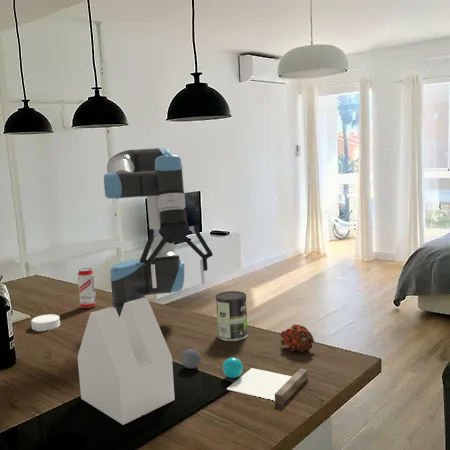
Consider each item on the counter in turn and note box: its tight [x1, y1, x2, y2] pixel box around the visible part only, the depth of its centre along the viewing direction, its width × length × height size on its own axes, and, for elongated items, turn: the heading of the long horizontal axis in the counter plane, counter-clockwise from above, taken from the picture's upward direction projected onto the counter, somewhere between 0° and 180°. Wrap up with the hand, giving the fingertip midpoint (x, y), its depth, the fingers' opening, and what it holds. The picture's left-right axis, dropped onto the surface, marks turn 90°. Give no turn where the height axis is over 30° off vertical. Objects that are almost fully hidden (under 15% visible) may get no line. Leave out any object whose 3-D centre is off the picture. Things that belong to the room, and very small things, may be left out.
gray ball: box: [180, 348, 202, 370], centre depth 146 cm, size 6×6×6 cm
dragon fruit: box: [280, 324, 315, 353], centre depth 155 cm, size 8×8×12 cm
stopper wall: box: [274, 368, 308, 406], centre depth 129 cm, size 16×2×2 cm, turn 149°
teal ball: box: [222, 356, 244, 379], centre depth 138 cm, size 6×6×6 cm
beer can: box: [77, 267, 97, 309], centre depth 208 cm, size 6×6×16 cm
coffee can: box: [214, 290, 249, 342], centre depth 169 cm, size 10×10×14 cm
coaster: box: [30, 313, 61, 332], centre depth 187 cm, size 10×10×4 cm
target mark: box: [226, 367, 293, 402], centre depth 134 cm, size 14×14×1 cm
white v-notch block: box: [77, 297, 175, 426], centre depth 127 cm, size 19×15×25 cm
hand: (179, 285), depth 140 cm, fingers open, 13 cm apart
